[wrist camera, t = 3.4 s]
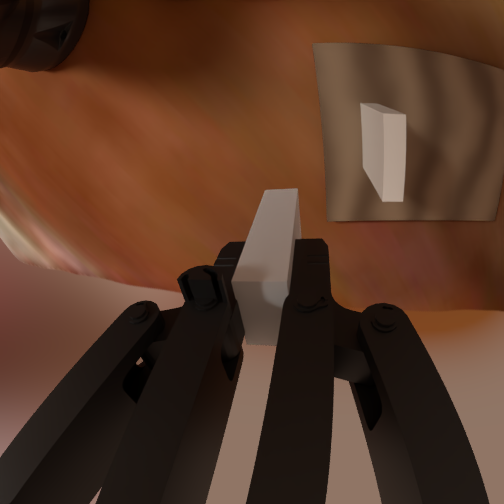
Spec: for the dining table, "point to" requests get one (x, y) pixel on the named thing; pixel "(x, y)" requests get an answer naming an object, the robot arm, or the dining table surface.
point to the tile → (384, 150)
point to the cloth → (413, 131)
